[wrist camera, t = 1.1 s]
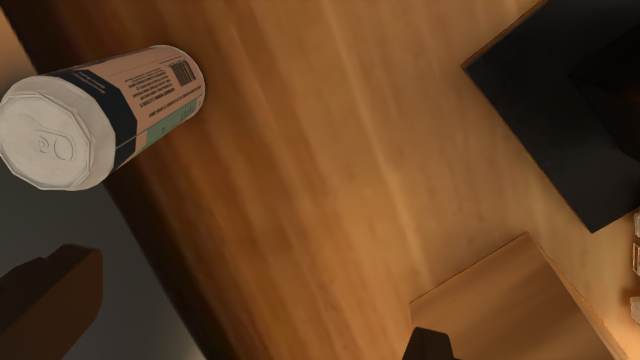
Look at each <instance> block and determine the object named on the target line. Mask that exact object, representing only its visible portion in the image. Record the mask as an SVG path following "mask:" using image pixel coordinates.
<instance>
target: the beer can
mask: <svg viewBox="0 0 640 360" xmlns="http://www.w3.org/2000/svg"><path fill="white" fill-rule="evenodd" d="M204 96H205V83H204V78H203V75H202V73H201V71H200V69H199V67H198V65H197V64H196V63H195V62H194V60H193V59H192V58H191V57H190V56H189V55H187V54H186V53H185V52H183V51H181V50H180V49H178V48H175V47H172V46H167V45H156V46H152V47H148V48H145V49H141V50H137V51H133V52H129V53H125V54H121V55H117V56H113V57H109V58H105V59H101V60H97V61H93V62H89V63H85V64H82V65H78V66H74V67H70V68H66V69H62V70H58V71H54V72H50V73H46V74H42V75H38V76H33V77H29V78H25V79H23V80H21V81H19V82H17V83H15V84H14V85H13V86H12V87H11V88H10V89H9V91H8V92H7V93H6V94H5V96H4V97H3V99H2V101H1V103H0V156H1V157H2V159H3V160H4V162H5V163H6V165H7V166H8V167H9V169H10V170H11V172H12V173H13V174H14V175H16V176H18V177H20V178H22V179H23V180H25V181H27V182H29V183H31V184H33V185H34V186H36V187H38V188H40V189H42V190H50V189H52V190H70V191H74V190H83V189H88V188H90V187H92V186H95V185H97V184H98V183H100V182H101V181H102V180H103V179H105V178H106V177H107V176H108V175H109V174H111V173H112V172H114V171H115V170H116V169H118V168H119V167H121V166H122V165H123V164H125V163H126V162H128V161H129V160H130V159H132V158H133V157H135V156H136V155H137V154H139V153H140V152H142V151H143V150H144V149H146V148H147V147H149V146H150V145H152V144H153V143H154V142H156V141H157V140H159V139H160V138H161V137H163V136H164V135H166V134H167V133H168V132H170V131H171V130H173V129H174V128H175V127H177V126H178V125H180V124H181V123H182V122H184V121H185V120H187V119H189V118H190V117H192V116H193V115H194V114H195V113H197V111H198V110H199V109H200V107H201V106H202V103H203V100H204Z"/></svg>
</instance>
